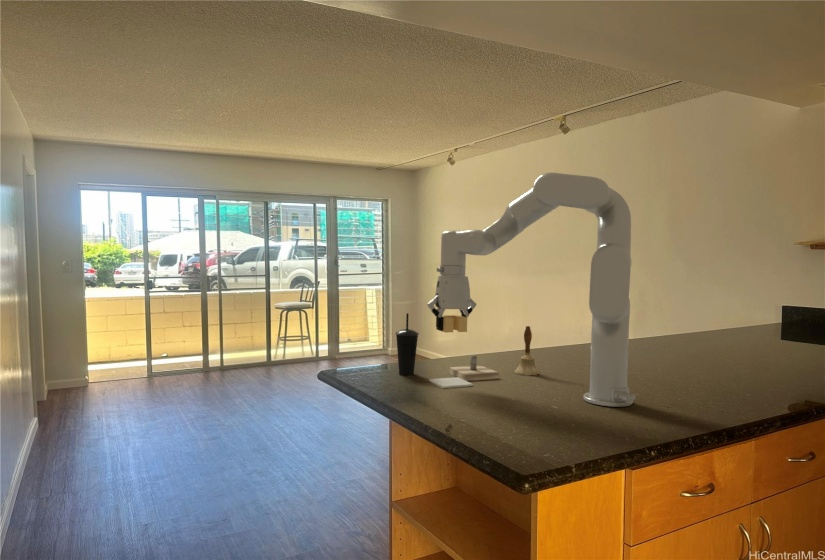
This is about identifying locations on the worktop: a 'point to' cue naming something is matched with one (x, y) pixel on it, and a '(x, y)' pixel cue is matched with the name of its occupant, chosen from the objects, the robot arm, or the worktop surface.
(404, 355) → the drinking cup
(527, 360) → the hand bell
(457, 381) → the pad
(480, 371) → the stand
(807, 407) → the worktop surface
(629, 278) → the robot arm
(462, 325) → the c link
